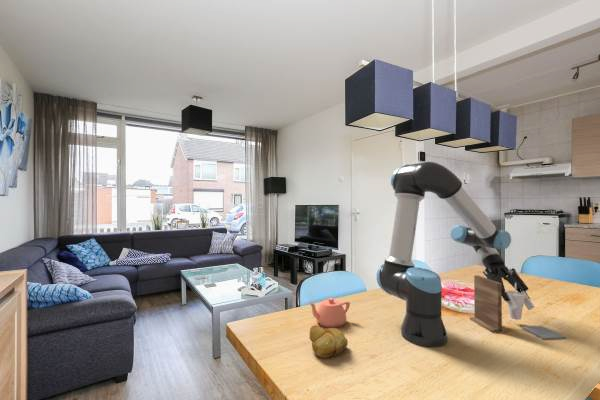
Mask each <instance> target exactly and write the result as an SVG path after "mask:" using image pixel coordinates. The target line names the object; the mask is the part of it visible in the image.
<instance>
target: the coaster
mask: <svg viewBox="0 0 600 400" xmlns="http://www.w3.org/2000/svg"><path fill="white" fill-rule="evenodd" d="M521 328H522V329H521ZM520 329H521V330H523V329H524V330H523V331H525V330H526V331H525V332H527V331H528V332H527V333H529V332H530V333H529V334H531V333H532V334H531V335H533V334H534V335H533V336H535V335H536V336H535V337H537V336H538V337H537V338H539V337H540V339H541V338H542V339H541V340H543V339H548V340H560V339H561V340H563V339H567V336H566V335H563V334H561V333H559V332H557V331H555V330H552V329H550V328H548V327H546V326H543V325H531V326H521V327H520Z"/></svg>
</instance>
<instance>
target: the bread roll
mask: <svg viewBox="0 0 600 400" xmlns="http://www.w3.org/2000/svg"><path fill="white" fill-rule="evenodd" d="M309 340H310V341H311V348H312V352H314V354H316V356H318V357H320V358H323V359H325V358H329V357H331V356H332V357H334V356H339V355H341V354H342V352H343V351H345V349H346V348H347V346H348V343H349V341H348V339H347V337H346V336H345V334H344V333H343V332H342V331H341V330H340V329H338V328H337V327H335V328H329V327H327V328H323V327H322V326H318V325H311V327H310V329H309Z"/></svg>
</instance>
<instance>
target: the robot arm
mask: <svg viewBox="0 0 600 400" xmlns="http://www.w3.org/2000/svg"><path fill="white" fill-rule="evenodd" d="M390 184H391V187H392V190H394V197H396V199H397V202H396V209H395V215H394V222H393V229H392V236H391V244H390V249H389V255H388V257H386V258H385V259H384V263H383V264H381V265H380V267H378V269H377V272H376V282H377V285H378V287H379V288H380V289H381V290H382V291H383V292H385V293H387V294H389V295H390V296H393V297H396V298H398V299H400V300H403V301H405V315H404V318H403V320H402V323H401V325H400V326H401V327H400V334H401V336H402V337H403V338H404V339H405V340H406V341H408V342H410V343H412V344H416V345H419V346H424V347H431V348H432V347H433V348H434V347H435V348H437V347H442V346H445V345H446V344H447V342H448V334H447V330H446V328H445V324H444V322H443V318H442V294H443V291H442V289H443V288H442V280H441V277H440V275H439V274H438V273H437V272H435V271H433V270H430V269H428V268H422V267H415V264H414V262H413V261H412V258H413V250H414V244H415V237H416V231H417V224H418V215H419V210H420V209H419V208H420V204H421V203H420V202H422V201H423V200H424V199H425V195H426V193H427V192H428V193H432V194H435V195H436V196H437V197H438V198H439V199H441V200H444V201H446V203H447V204H448V205H449V206H450V208H452V210H453V211H454V212H455V213H456V214H457V215H458V216H459V217H460V219H461V220H462V221H463V222H464V223H465V224H466V225H467V226H468V227H467V226H464V225H460V224H459V225H458V224H457V225H454V226H453V227H452V228H451V230H450V234H449V235H450V237H451V239H452V240H453V241H455V242H457V243H460V244H463V245H467V246H469V247H472V248H473V250H474V251H475V253H476V254H477V256H478V257H479V259H480V261H481V262H482V264H483V266H484V268H485V269H483V271H482V273H483V275H484V276H485V278H487V279H490V280H493V281H496V282H498V283H501V284H502V300H504V301H505V302H506V303H508V304H507V306H508V305H509V307H510V308H511V310H515V309H516V308H518V307H517V305H516V303H515V302H514V300H513V299H512V297H511V295H510V294H509V292H508V291H509V290H506V289H505V285H504V281H506V282H508V284H509V285H510V286H511V287H512V288H513V289H515V283H516V292H520V293H523V294H525V298H524V303H523V305H524V306H525V307H526V308H527V310H528V311H530V310H532V309H534V308H535V305H534V304H533V302H532V301H531V297H530V296H529V295H528V293H527V291H528V290H529V287H528V286H527V285H526V283H525V282H524V280H522V278H521V277H520V276H519V274H518V273H517V271H516V269H515V268H514V267H512V268H508V267H507V266H506V265H505V261H504V259H503V257H502V256H501V255H500V253H499V251H498V250H499V249H500V250H506V249H508V248H509V247H510V245H511V243H512V236H511V234H510V233H509V231H507V230H502V229H498V228H497V227H496V226H495V224H494V223H493V222H492V220H490V218H489V217H488V216H487V215H486V214H485V212H484V211H483V210H482V209H481V208H480V207H479V205H478V204H477V203H476V202H475V201H474V199H473V198H472V197H471V195H469V194H468V193H467V192H466V190H465V189H464V188H463V182H462V180H460V178H459V177H458V176H457V175H456V174H455V173H453V172H452V171H451V170H450V169H449V168H447V167H445V166H444V165H442V164H439V163H438V162H434V161H423V162H417V163H413V164H404V165H402V166H399V167H398V168H396V169H395V170H394V172H393V173H392V175H391V178H390ZM497 249H498V250H497ZM503 280H504V281H503Z"/></svg>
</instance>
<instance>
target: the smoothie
mask: <svg viewBox="0 0 600 400" xmlns="http://www.w3.org/2000/svg"><path fill="white" fill-rule="evenodd" d="M507 291H508V292H509V294H510V295H511V297H512V299H513V300H514V302H515V303H516V305H517V307H518V308H516V309H515V310H511V308H510V307H509V305H508V303H507V302H506V303H507V310H508V316H509V318H510V319H512V320H517V321H520V320H522V315H523V310H524V309H523V308H524V298H525V294H523V293H520V292H518V291H517V290H516V283H515V288H514V290H513V291H512V290H507Z"/></svg>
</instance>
